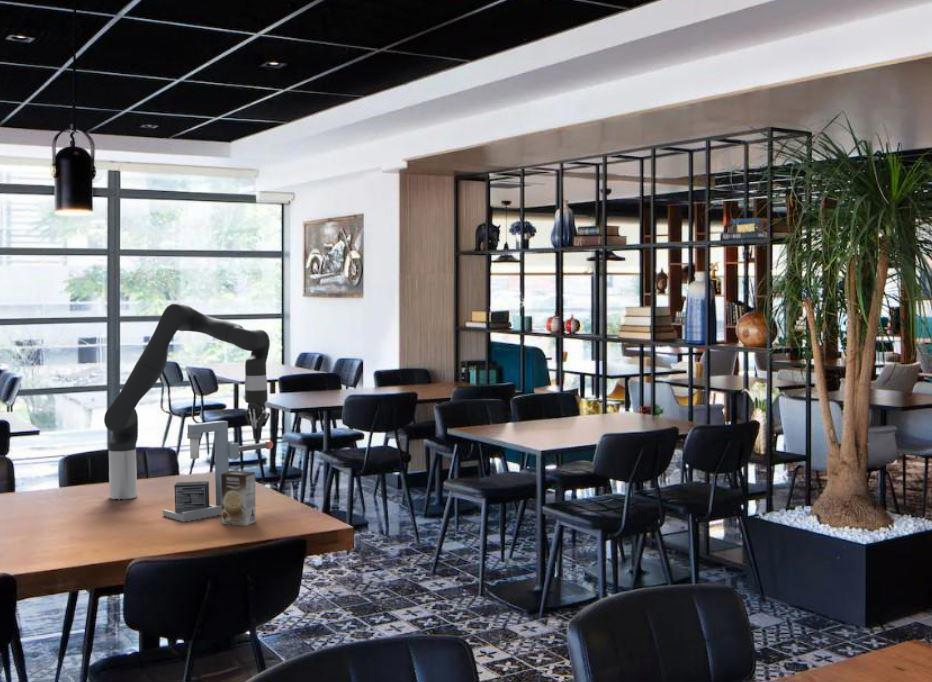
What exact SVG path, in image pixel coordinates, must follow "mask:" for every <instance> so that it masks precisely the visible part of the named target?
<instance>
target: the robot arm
mask: <svg viewBox="0 0 932 682" xmlns="http://www.w3.org/2000/svg"><path fill="white" fill-rule="evenodd" d="M178 331H179V332H194V333H201V334H205V335H207V336H210V337H211V338H214V339H216V340H218V341H220V342H221V341H222V342H225V343H227V344H232V345H234V346H235V347H238V348H240V349H241V350H243V351H248V352H251V353H250V356H249V357H248V358H247V359H245V362H244V371H245V372H244V373H245V374H244V400H245V401H244V402H245V403H247V409H246V410H243V414H244V417H245V421H247V425H248V426H249V427H251V428H252V437H253V440H261V439H262V428H264V427H266V425H267V422H268V420H269V418H270V415H271V413H270V412H267V411H266V409H267V407H266V405H265V404H266V403H268V401H269V400H268V399H269V397H268V379H267V378H268V377H267V360H268V356H269V351H270V345H271V344H270V343H271V342H270V337H269V334H268V332H266V331H265V330H262V329H253V330H252V329H246V328H244V327H243V326H242V325H240V324H237V323H235V322H230V321H228V320H224V319H220V318H216V317H215V318H214V317H212V316H209V315H206V314H204V313H203V312H200V311H198V310H196V309H194V308H193V307H191V306H189V305H185V304H181V303H171V304H168V306H166V308H165V309H164V310H163V312H162V315H161V316H160V318H159V320H158V323H157V326H156V327H155V330H154V332H153V334H152V336H151V338H150V339H149V341H148V343H147V345H146V346H145V348H144V349H143V350H144V351H143V352H142V353H141V355H140V356H139V358H138V360H137V362H136V363H135V365H134V367H133V368H132V371H131V372H130V374H129V376H128V377H127V380H126V382H125V383H124V384H123V387H122V389H121V390H120V392H119V394H118V395H117V397H116V398H115V399H114V400H113V402H112V403H111V405H110V406H109V407H108V409H107V410H106V411H105V414H104V417H103V419H104V420H103V423H104V425H105V426H104V427H106V429H107V430H108V431H110V432H112V436H111V439H110V441H109V442H108V482H109V484H108V485H109V489H108V491H109V499H110V498H111V500H115V499H118V501H119V500H120V499H123V500H131V499H134V498H137V497H138V477H137V476H138V475H137V474H138V473H137V471H138V470H137V442H138V437H139V416H138V413H137V410H136V407H137V405H138V403H139V402H140V400H142V399H143V398H144V396H145V395H146V394H147V393H148V392H149V391H150V390H151V389H152V388H153V387H154V385H155V384H156V383H157V382H158V380H159V379H160V377H161V375H162V373H164V370H165V369H166V366H167V362H168V353H169V352H168V350H169V346H170V343H171V341H172V340H173V338H174V336H175V335H176V333H177V332H178Z"/></svg>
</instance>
